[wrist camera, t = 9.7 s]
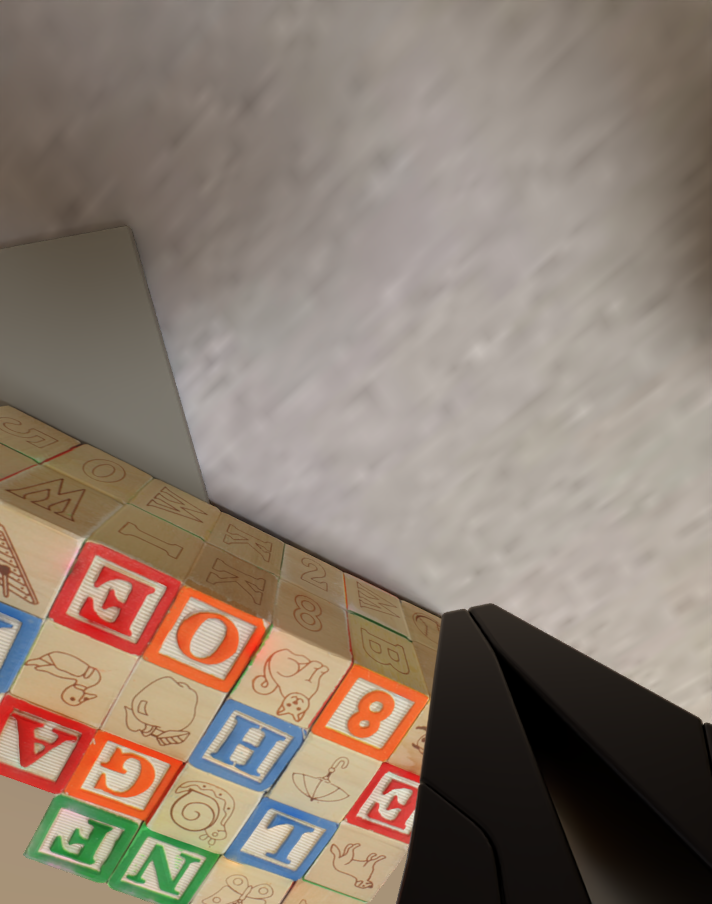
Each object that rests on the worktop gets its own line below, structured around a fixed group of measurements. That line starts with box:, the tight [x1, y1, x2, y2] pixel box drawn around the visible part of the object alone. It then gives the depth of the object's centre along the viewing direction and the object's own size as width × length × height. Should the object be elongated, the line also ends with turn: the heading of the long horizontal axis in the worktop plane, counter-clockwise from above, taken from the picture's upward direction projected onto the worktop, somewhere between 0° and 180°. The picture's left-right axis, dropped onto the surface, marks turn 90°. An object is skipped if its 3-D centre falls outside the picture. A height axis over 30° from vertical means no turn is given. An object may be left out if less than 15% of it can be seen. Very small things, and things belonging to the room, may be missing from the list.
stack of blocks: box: [0, 406, 441, 904], centre depth 18 cm, size 21×6×12 cm
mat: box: [0, 226, 210, 504], centre depth 19 cm, size 12×18×1 cm, turn 11°
